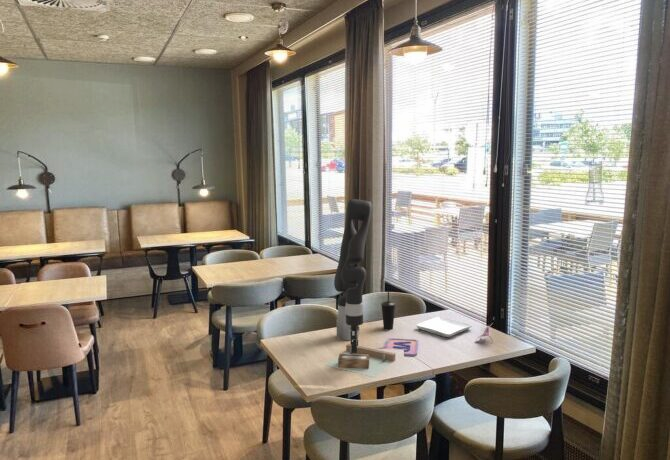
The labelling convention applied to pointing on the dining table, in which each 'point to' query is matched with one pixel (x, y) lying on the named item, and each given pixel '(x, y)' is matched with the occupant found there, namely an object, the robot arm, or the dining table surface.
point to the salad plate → (443, 326)
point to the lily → (486, 332)
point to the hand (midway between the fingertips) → (354, 349)
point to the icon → (402, 345)
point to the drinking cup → (388, 313)
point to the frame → (353, 361)
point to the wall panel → (376, 360)
